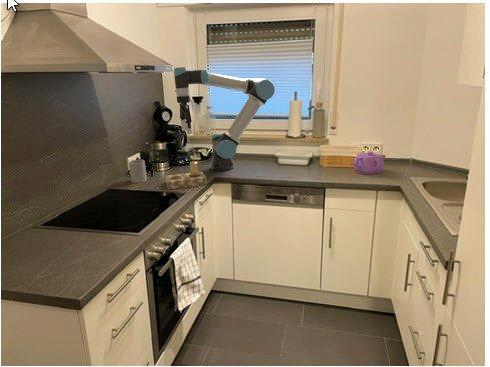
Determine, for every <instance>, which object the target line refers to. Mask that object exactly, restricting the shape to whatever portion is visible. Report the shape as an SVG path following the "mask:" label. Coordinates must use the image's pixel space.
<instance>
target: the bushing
mask: <svg viewBox="0 0 490 367" xmlns="http://www.w3.org/2000/svg"><path fill="white" fill-rule="evenodd" d="M198 165H199V164H198V161H190V162H189V168H190V173H191V178H192V177H199V175H198V172H199V166H198Z"/></svg>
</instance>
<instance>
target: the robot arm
mask: <svg viewBox="0 0 490 367" xmlns="http://www.w3.org/2000/svg"><path fill="white" fill-rule="evenodd" d="M173 77H174V85H175V90H174V91H175V93H176V94H175V95H176V103H178V104H179V118H180V124H181V130H182V132H185V131H186V135H191V134H193V130H192V122H193V120H192V115H191V112H190V105H189V104H188V103H191V96H190V86H189V85H205V86H210V87H214V88H215V87H216V88H221V89H226V90H231V91H232V90H233V91H237V92H242V93H243V94H246V95H248V99H247V100H246V102H245V103H244V105H243V106H242V108H241V110H240V111H239V113H238V114H237V116H236V117H235V119H234V120H233V122H232V124H231V126H230V127H229V128H228V130H227V131H224V132H223V133H216V134H215V133H214V134H212V136H211V145H212V160H211V164H210V169H211V170H213V171H219V172H220V171H221V172H222V171H230V170H233V169H234V166H235V164H234V162H233V159H232V157H234V156H235V154H236V153H237V151H238V150H237V149H238V146H239V144H240V143H241V142H240V141H241V140H240V139H241V137H242V135H243V134H244V132H245V131H246V129H247V128H248V126H249V125H250V123H251V121H253V119H254V117H255V115H256V114H257V112H258V111H259V110H260V108H261V107H262V106H265V104H266V103H267V101H268V100H269V99H271V98H272V97H273V96H274V94H275V91H276V89H275V84H274V83H273V81H272V80H270V79H268V78H250V77H246V78H239V77H234V76H228V75H223V74H218V73H213V72H209V70H208V69H194V70H188V68H187V66H185V67H184V66H181V67H175V68H174V69H173Z"/></svg>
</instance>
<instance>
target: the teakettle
mask: <svg viewBox="0 0 490 367" xmlns="http://www.w3.org/2000/svg"><path fill="white" fill-rule="evenodd" d="M386 157H387V156H386V154H379V153H375V152H373V151H367V152H365V153H357V154H356V157H354V160H353V167H354V170H355V172H358V173H359V174H362V175H365V176H366V175H368V176H369V175H376V174H381V173H383V172H384V169H385V162H384V160H385V159H386Z"/></svg>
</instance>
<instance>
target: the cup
mask: <svg viewBox="0 0 490 367" xmlns="http://www.w3.org/2000/svg"><path fill="white" fill-rule="evenodd" d="M145 162H146V161H145V160H144V159H132V160H129V161H128V168H129V174H130V181H131V183H133V184H136V183H137V184H138V183H144V182H147V181H148V179H147V178H148V177H147V170H146V163H145Z"/></svg>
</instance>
